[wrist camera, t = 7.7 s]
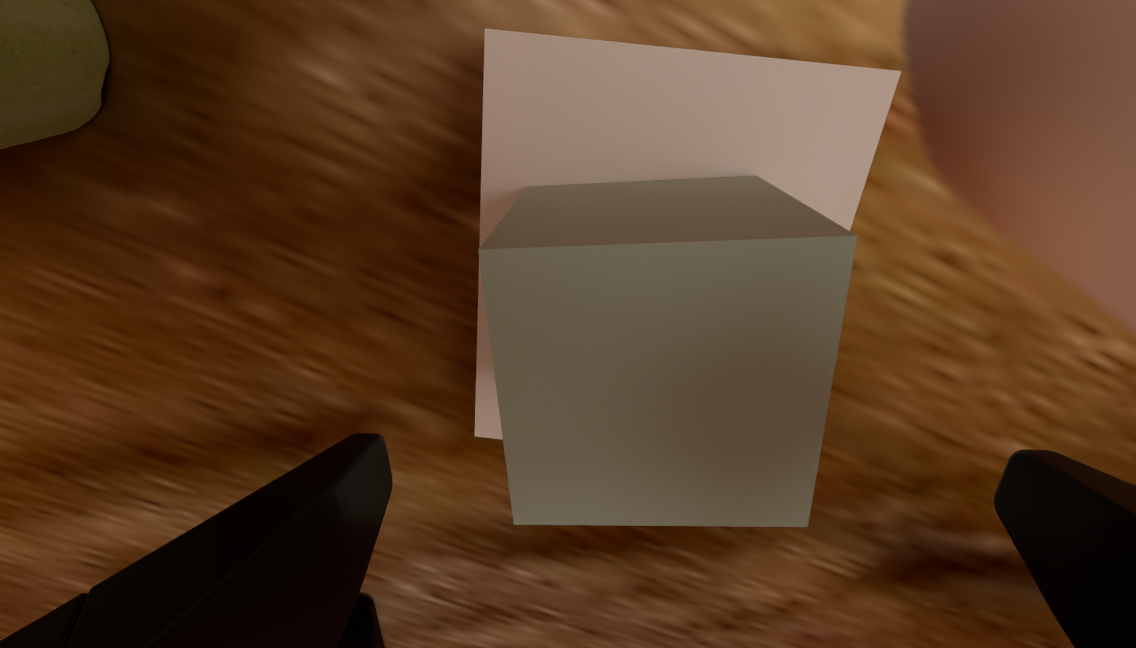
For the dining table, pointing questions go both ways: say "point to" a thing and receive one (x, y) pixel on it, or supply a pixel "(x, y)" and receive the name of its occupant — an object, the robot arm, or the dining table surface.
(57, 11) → the plant pot
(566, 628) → the dining table surface
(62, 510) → the dining table surface
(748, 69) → the plinth
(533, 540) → the dining table surface
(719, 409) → the sage cube
